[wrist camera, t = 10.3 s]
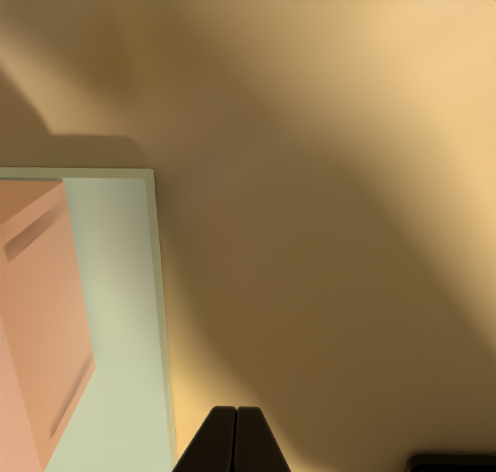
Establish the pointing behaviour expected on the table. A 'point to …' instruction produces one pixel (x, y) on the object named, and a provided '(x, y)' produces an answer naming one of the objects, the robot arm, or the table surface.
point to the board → (117, 323)
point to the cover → (39, 324)
